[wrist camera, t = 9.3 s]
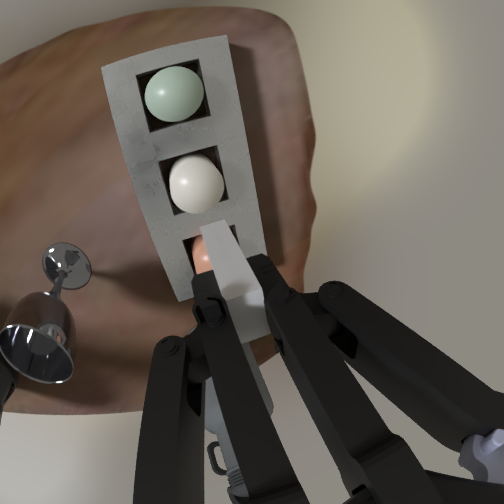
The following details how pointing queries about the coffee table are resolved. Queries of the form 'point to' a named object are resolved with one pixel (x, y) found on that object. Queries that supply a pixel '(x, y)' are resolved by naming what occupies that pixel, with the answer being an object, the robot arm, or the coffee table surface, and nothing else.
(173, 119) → the pale green rounded egg
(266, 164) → the coffee table surface
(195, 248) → the brown egg
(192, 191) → the white egg
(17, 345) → the wine glass
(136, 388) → the coffee table surface
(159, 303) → the coffee table surface
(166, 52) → the panel
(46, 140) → the coffee table surface
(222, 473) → the water bottle
